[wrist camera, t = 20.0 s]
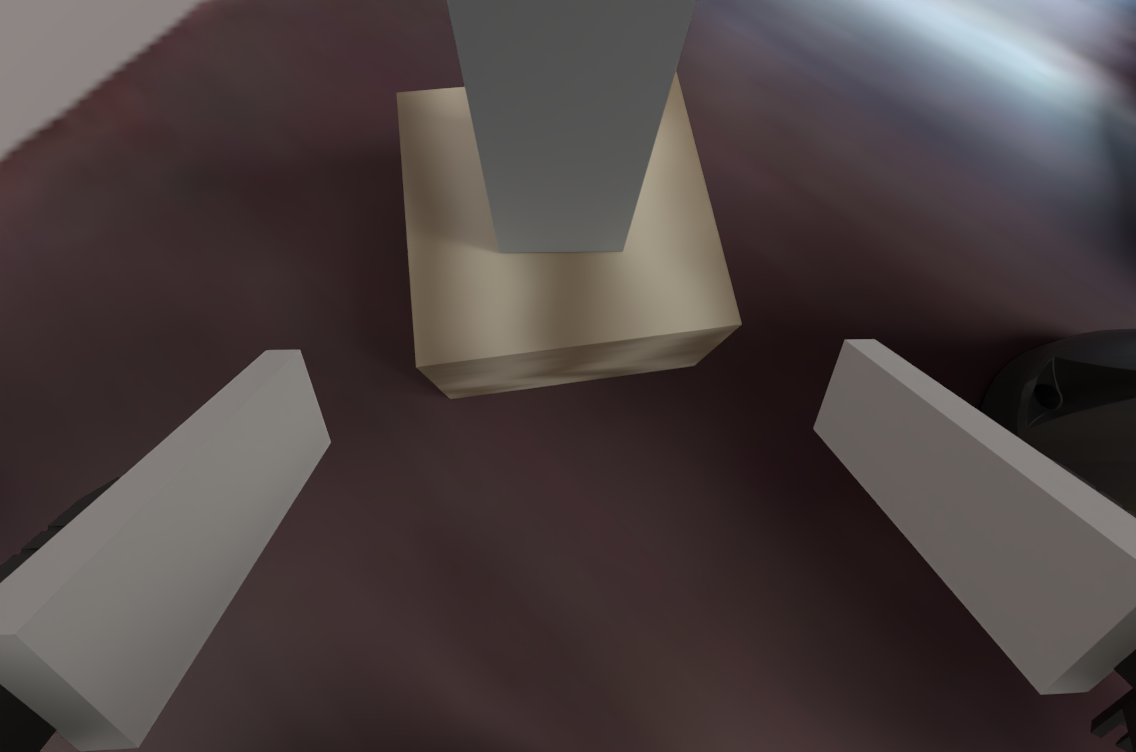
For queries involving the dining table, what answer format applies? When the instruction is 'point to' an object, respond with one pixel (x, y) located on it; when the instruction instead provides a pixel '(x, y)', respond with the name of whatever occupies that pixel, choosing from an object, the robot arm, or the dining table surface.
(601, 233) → the grey block
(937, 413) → the robot arm
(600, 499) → the dining table surface
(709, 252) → the birch block
